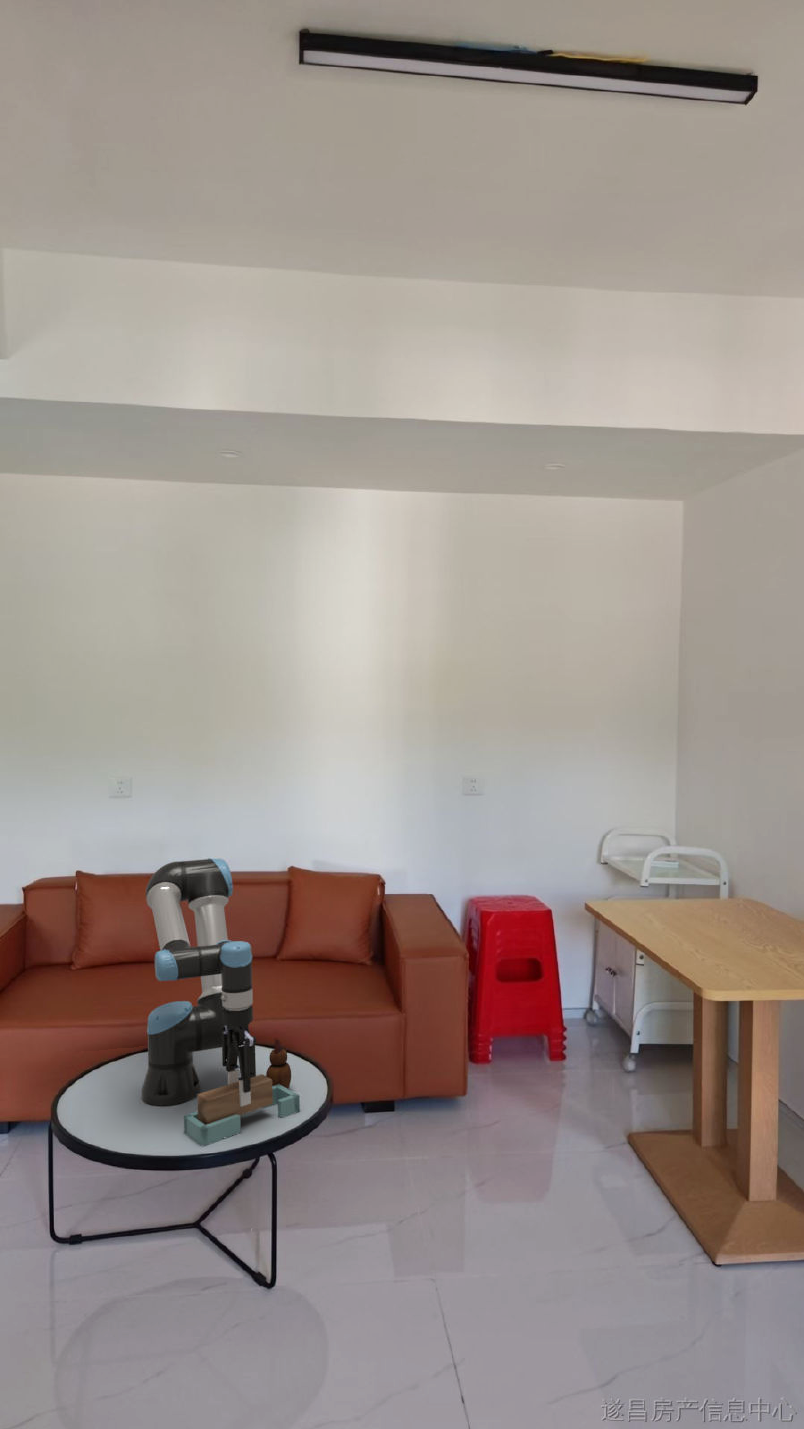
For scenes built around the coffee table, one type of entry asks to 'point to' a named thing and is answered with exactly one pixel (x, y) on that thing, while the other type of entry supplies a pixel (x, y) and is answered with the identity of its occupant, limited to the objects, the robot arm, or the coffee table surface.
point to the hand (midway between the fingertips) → (239, 1100)
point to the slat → (233, 1100)
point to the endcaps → (237, 1118)
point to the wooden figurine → (279, 1066)
